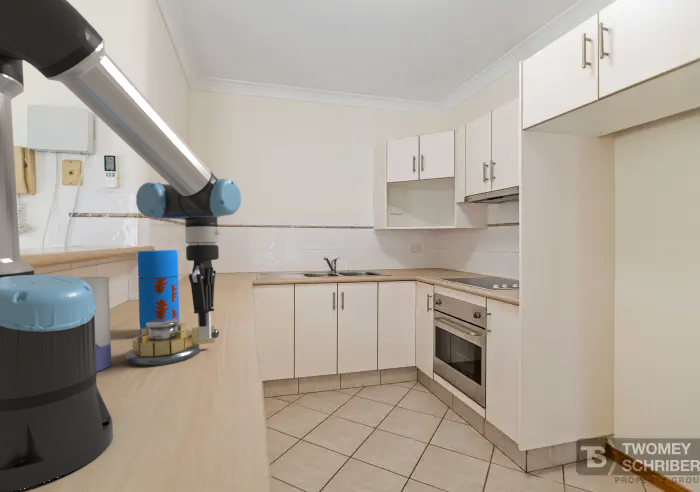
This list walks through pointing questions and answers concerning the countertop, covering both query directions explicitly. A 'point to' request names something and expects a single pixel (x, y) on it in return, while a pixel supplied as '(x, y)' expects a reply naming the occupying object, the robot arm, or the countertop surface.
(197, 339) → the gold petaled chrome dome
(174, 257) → the thermos
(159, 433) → the countertop surface
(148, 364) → the base
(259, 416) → the countertop surface
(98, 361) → the container
